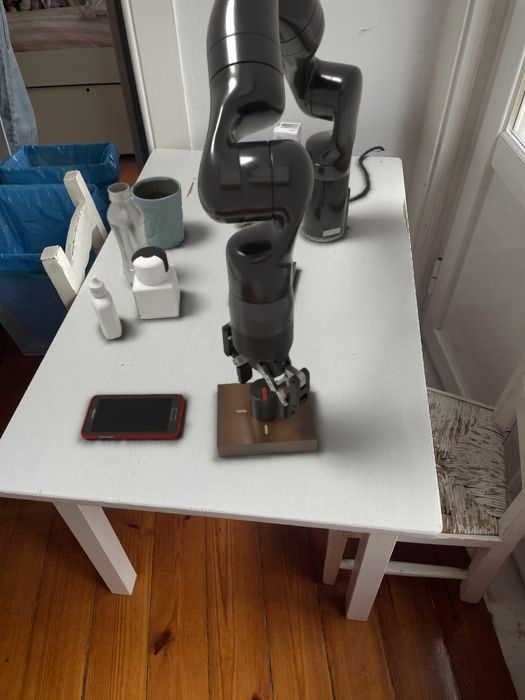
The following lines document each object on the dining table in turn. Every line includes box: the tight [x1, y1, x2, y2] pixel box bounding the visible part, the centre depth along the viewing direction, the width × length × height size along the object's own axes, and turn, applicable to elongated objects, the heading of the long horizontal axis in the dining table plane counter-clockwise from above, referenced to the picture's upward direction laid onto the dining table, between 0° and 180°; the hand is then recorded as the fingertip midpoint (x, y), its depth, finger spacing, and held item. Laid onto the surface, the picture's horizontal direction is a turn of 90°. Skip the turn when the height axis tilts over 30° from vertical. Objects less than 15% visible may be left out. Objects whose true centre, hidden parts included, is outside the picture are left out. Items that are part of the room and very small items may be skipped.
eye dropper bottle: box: [88, 275, 123, 340], centre depth 83 cm, size 4×6×12 cm
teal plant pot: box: [130, 175, 185, 250], centre depth 103 cm, size 10×10×12 cm
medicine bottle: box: [131, 246, 181, 320], centre depth 87 cm, size 7×7×12 cm
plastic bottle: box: [106, 182, 149, 285], centre depth 90 cm, size 6×7×20 cm
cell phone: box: [80, 393, 185, 440], centre depth 74 cm, size 8×15×1 cm, turn 89°
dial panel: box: [216, 380, 318, 458], centre depth 72 cm, size 14×11×3 cm
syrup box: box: [272, 121, 302, 144], centre depth 116 cm, size 6×6×14 cm
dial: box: [250, 377, 278, 421], centre depth 69 cm, size 4×4×5 cm
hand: (265, 396), depth 69 cm, fingers open, 8 cm apart
